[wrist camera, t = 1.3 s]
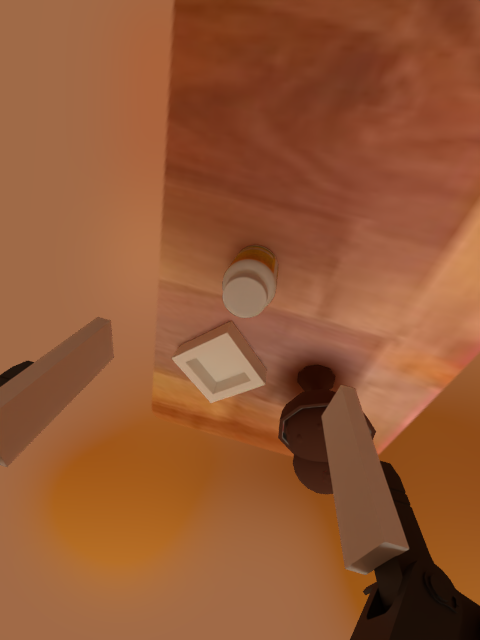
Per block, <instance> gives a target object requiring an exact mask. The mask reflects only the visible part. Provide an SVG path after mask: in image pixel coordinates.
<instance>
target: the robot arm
mask: <svg viewBox="0 0 480 640" xmlns="http://www.w3.org/2000/svg"><path fill="white" fill-rule="evenodd" d="M113 358H114V354H113V342H112V330H111V320H107V319H103V318H100V317H97V318H96V319H94V320H93V321H91V322H90V323H89V324H87V325H86V326H85V327H83V328H82V329H80V330H79V331H78V332H76V333H75V334H73V335H72V336H71V337H69V338H68V339H66V340H65V341H64V342H62V343H61V344H60V345H58V346H57V347H55V348H54V349H53V350H51V351H50V352H48V353H47V354H46V355H45V356H43V357H41V358H40V359H39V360H37V361H36V362H35V363H34V362H31V361H26V362H23V363H21V364H18V365H16V366H13V367H12V368H10V369H9V370H7V371H6V372H4V373H3V374H1V375H0V465H2V466H6V467H7V466H8V465H10V464H11V463H12V461H13V460H14V459H15V458H16V457H17V456H18V455H19V454H20V453H21V452H22V451H23V450H24V449H25V448H26V447H27V446H28V445H29V444H30V443H31V442H32V441H33V440H34V439H35V438H36V437H37V436H38V435H39V434H40V433H41V432H42V431H43V430H44V429H45V428H46V427H47V426H48V425H49V424H50V423H51V421H52V420H53V419H54V418H55V417H56V416H57V415H58V414H59V413H60V412H61V411H62V410H63V409H64V408H65V407H66V406H67V405H68V404H69V403H70V402H71V401H72V400H73V399H74V398H75V397H76V396H77V395H78V394H79V393H80V392H81V391H82V390H83V388H85V387H86V386H87V385H88V384H89V383H90V382H91V381H92V379H93V378H94V377H95V376H96V375H97V374H98V373H99V372H100V371H101V370H102V369H103V368H104V367H105V366H106V365H107V364H108V363H109V362H110V361H111V360H112V359H113ZM321 417H322V423H323V430H324V436H325V442H326V449H327V455H328V462H329V468H330V475H331V481H332V487H333V494H334V500H335V506H336V513H337V519H338V526H339V532H340V538H341V544H342V551H343V558H344V564H345V569H348V570H351V571H355V572H358V573H361V574H365V575H366V574H368V573H370V572H371V571H373V570H374V571H375V575H376V579H377V582H376V583H374V584H372V585H370V586H368V587H366V589H365V590H364V591H363V592H364V594H365V595H367V594H369V593H370V595H369V597H368V599H367V602H366V604H365V606H364V609H363V611H362V613H361V615H360V618H359V620H358V622H357V625H356V627H355V629H354V632H353V634H352V636H351V639H350V640H480V606H479V605H478V604H476V603H475V602H473V601H472V600H470V599H469V598H467V597H466V596H464V595H463V594H461V593H460V592H459V591H457V590H456V589H455V587H454V585H453V584H452V582H451V580H450V579H449V578H448V577H447V575H446V574H445V573H444V572H443V571H442V570H441V569H440V568H439V567H438V566H437V565H435V564H434V562H433V560H432V558H431V556H430V554H429V551H428V548H427V546H426V543H425V541H424V538H423V536H422V533H421V530H420V528H419V526H418V523H417V520H416V518H415V515H414V513H413V510H412V508H411V507H410V502H409V500H408V497H407V495H406V494H405V489H404V487H403V484H402V482H401V479H400V477H399V476H398V474H397V473H396V471H395V470H394V468H393V467H392V465H391V464H390V463H386V462H383V461H379V458H378V455H377V452H376V449H375V446H374V443H373V440H372V437H371V434H370V431H369V428H368V425H367V422H366V419H365V416H364V414H363V411H362V408H361V405H360V402H359V399H358V396H357V393H356V390H355V388H352V387H348V386H345V385H341V386H340V387H339V389H338V390H337V392H336V394H335V395H334V397H333V399H332V400H331V402H330V403H329V405H328V407H327V408H326V410H325V411H324V413H323V415H322V416H321Z"/></svg>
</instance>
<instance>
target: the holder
mask: <svg viewBox="0 0 480 640" xmlns="http://www.w3.org/2000/svg"><path fill="white" fill-rule="evenodd" d="M172 359H173V361H174V362H175V363H176V364H177V365H178V366H179V367H180V369H181V370H182V371H183V372H184V373H185V374H186V375H187V376H188V378H189V379H190V380H191V381H192V382H193V383H194V384H195V386H196V387H197V388H198V389H199V390H200V391H201V392H202V393H203V395H204V396H205V397H206V398H207V399H208V400H209V401H210V403H213V402H216V401H219V400H221V399H224V398H227V397H230V396H233V395H236V394H239V393H242V392H245V391H248V390H251V389H254V388H257V387H260V386H263V385H265V383H266V373H267V370H266V369H265V367H264V366H263V364H262V363H261V361H260V360H259V359H258V357H257V356H256V354H255V353H254V352H253V350H252V349H251V347H250V346H249V344H248V343H247V342H246V340H245V339H244V337H243V336H242V335H241V333H240V332H239V330H238V329H237V328H236V326H235V325H234V323H233V322H232V321H230V322H228V323H226V324H224V325H221V326H219V327H217V328H215V329H213V330H211V331H209V332H207V333H205V334H203V335H201V336H199V337H197V338H195V339H193V340H191V341H189V342H187V343H184V344H182V345H180V346H179V348H178V349H177V351H176V352H175V354H174V355H173V357H172Z"/></svg>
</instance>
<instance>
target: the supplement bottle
mask: <svg viewBox="0 0 480 640" xmlns="http://www.w3.org/2000/svg"><path fill="white" fill-rule="evenodd" d="M277 276H278V262H277V259H276V257H275V255H274V254H273V253H272V252H271V251H270V250H269V249H267V248H265V247H263V246H259V245H252V246H248V247H246V248H244V249H242V250H241V251H240V252H239V254H238V255H237V256H236V258H235V259H234V261H233V262H232V263H231V265H230V266H229V268H228V269H227V271H226V272H225V274H224V277H223V282H222V287H223V302H224V305H225V307H226V308H227V309H228V310H229V311H230V312H231V313H232V314H234V315H235V316H238V317H241V318H251V317H254V316H257V315H258V314H260V313H261V312H262V311H263V309H264V308H265V307H266V306H267V305H268V304H269V303H270V302H271V301H272V299H273V298H274V295H275V292H276V286H277Z"/></svg>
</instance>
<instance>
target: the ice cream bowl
mask: <svg viewBox="0 0 480 640" xmlns="http://www.w3.org/2000/svg"><path fill="white" fill-rule="evenodd" d="M334 379H335V375H334V374H333V373H332V371H331V370H330V369H329V368H326V367H323V366H321V365H314V366H307V367H305V368H304V369H303V370H302V371H300V372H299V374H298V383H299V385H300V386H301V387H302V388H303V390H304V391H305V392H302V393H301V394H300V395H298V396H297V397H296V398H294V399H293V400H292V401H290V402H289V403H288V404H286V406H285V407H284V409H283V410H282V414H281V418H280V425H279V436H278V438H279V439H280V440H281V441H282V442H283V443H284V444H285V445H286V447H287V448H288V449H289V450H290V451H291V452H292V453H293V454H294V459H293V466H294V470H295V473H296V475H297V476H298V478H299V480H300V481H301V482H302V483H303V484H304V485H305V486H306V487H307V488H308V489H310V490H313V491H314V492H316V493H320V494H333V487H332V481H331V475H330V468H329V462H328V455H327V449H326V442H325V436H324V430H323V423H322V417H321V416H322V415H323V413H324V411H325V410H326V408H327V407H328V405H329V403H330V402H331V400H332V399H333V397H334V395H335V394H336V392H333V391H330V390H329V389H331V388H332V387H333V384H334ZM363 414H364V413H363ZM364 416H365V419H366V422H367V425H368V428H369V431H370V434H371V437H372V440H373V438H374V435H375V433H376V431H375V429H374V428H373V426H372V424H371V423H370V421H369V420H368V418H367V417H366V415H365V414H364Z"/></svg>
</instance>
